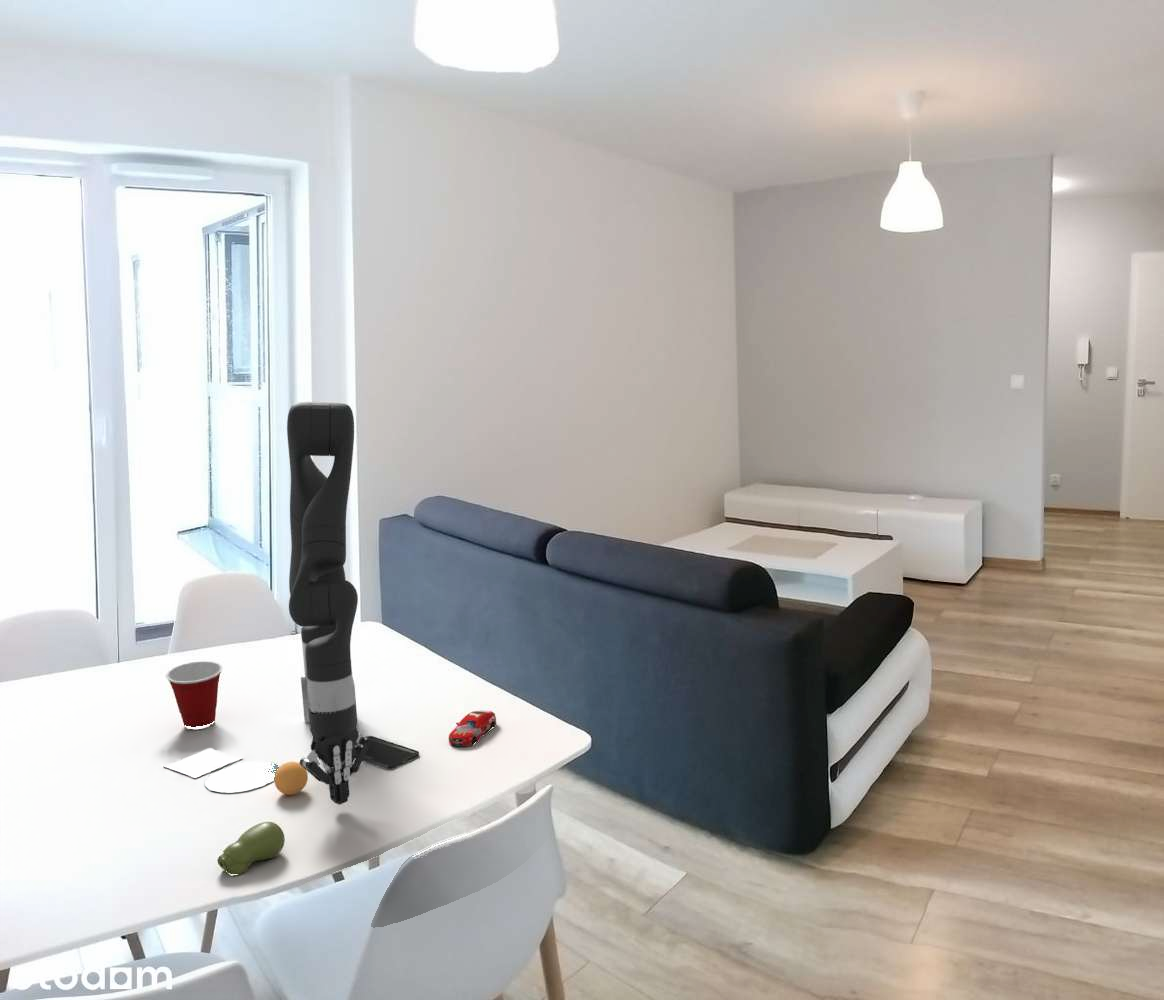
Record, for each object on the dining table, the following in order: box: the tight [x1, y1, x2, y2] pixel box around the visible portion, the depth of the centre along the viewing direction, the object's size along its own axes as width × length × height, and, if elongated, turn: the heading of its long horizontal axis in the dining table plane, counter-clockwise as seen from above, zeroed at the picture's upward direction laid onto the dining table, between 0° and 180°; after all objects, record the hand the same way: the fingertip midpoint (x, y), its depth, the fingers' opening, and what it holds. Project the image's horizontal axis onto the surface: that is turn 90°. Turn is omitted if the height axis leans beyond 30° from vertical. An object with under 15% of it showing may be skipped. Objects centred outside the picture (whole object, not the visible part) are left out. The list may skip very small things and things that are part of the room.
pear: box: [216, 821, 286, 875], centre depth 148 cm, size 6×5×10 cm
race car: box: [448, 709, 497, 747], centre depth 194 cm, size 13×5×4 cm, turn 157°
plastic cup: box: [165, 660, 223, 727], centre depth 203 cm, size 11×11×12 cm
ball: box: [273, 761, 309, 796], centre depth 171 cm, size 6×6×6 cm
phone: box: [362, 735, 420, 770], centre depth 186 cm, size 8×1×15 cm
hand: (340, 802), depth 164 cm, fingers closed
